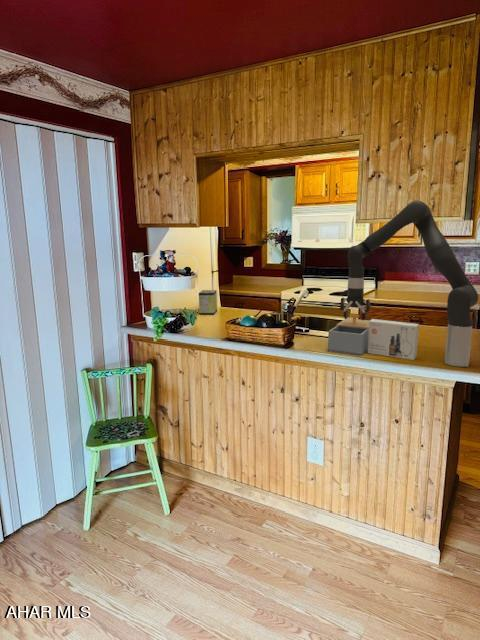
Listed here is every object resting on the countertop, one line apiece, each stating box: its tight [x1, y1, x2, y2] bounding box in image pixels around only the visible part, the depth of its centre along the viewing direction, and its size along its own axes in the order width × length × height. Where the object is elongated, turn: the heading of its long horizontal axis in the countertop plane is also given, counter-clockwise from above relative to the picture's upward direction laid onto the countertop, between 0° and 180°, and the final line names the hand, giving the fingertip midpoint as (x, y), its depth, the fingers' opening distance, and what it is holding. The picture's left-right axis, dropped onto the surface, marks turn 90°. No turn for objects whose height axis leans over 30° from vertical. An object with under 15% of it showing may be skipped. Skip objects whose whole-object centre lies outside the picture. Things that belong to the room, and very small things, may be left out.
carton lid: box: [335, 313, 371, 329], centre depth 216 cm, size 16×16×6 cm
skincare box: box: [367, 318, 420, 361], centre depth 196 cm, size 21×6×16 cm, turn 56°
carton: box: [327, 325, 369, 356], centre depth 207 cm, size 16×16×10 cm
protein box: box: [198, 289, 218, 316], centre depth 303 cm, size 10×16×16 cm
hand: (354, 319), depth 211 cm, fingers open, 8 cm apart
